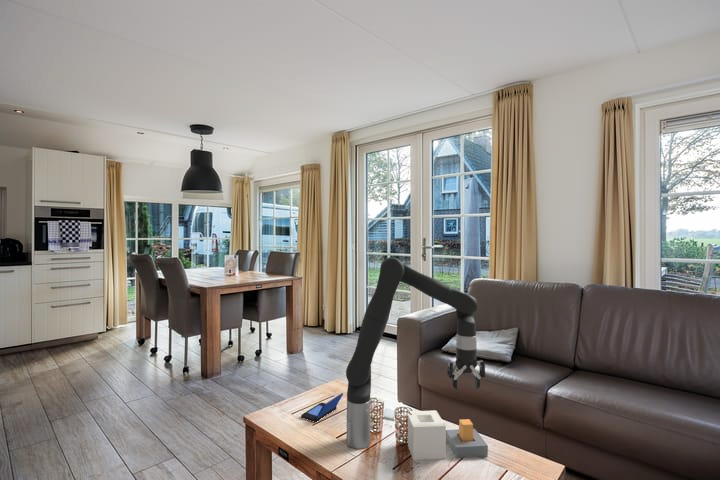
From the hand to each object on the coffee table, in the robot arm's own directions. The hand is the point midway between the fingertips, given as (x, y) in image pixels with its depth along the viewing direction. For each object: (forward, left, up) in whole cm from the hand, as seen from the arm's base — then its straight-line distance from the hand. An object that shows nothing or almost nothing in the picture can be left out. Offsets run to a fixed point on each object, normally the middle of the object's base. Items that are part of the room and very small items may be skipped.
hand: (466, 388), depth 140 cm
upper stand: (-16, 0, -23) cm, 28 cm away
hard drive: (-27, +29, -24) cm, 46 cm away
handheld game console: (-56, +31, -24) cm, 68 cm away
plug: (0, 0, -22) cm, 22 cm away
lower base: (0, 0, -23) cm, 23 cm away
